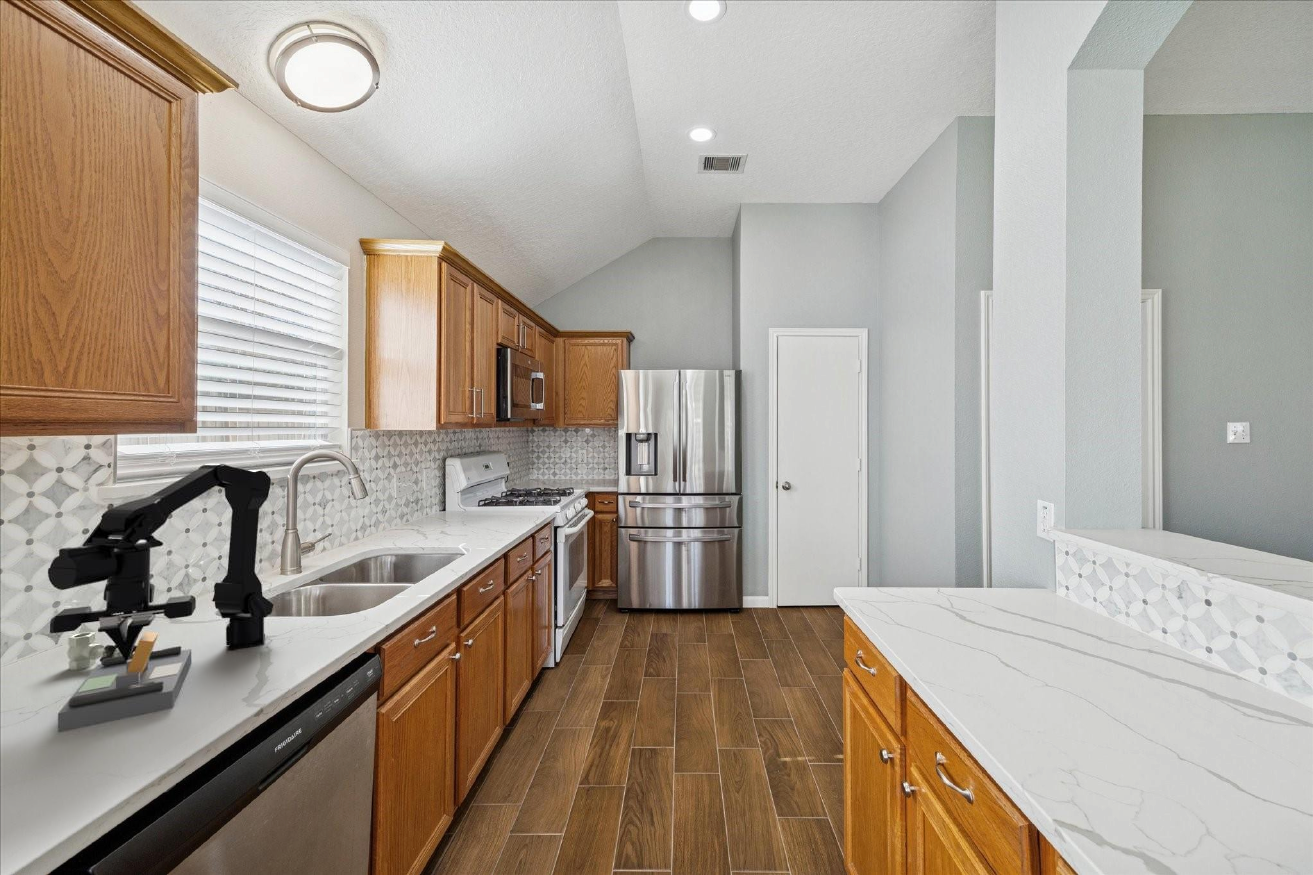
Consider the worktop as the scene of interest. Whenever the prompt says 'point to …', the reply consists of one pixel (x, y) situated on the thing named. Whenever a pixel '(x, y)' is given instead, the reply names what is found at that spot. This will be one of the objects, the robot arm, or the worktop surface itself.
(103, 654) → the valve
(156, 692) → the panel
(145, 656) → the lever
